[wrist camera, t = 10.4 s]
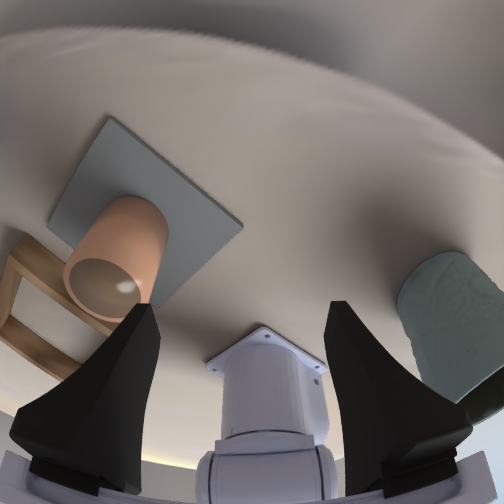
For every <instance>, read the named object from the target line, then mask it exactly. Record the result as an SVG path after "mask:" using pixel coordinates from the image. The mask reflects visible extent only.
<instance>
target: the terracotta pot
mask: <svg viewBox="0 0 504 504" xmlns="http://www.w3.org/2000/svg"><path fill="white" fill-rule="evenodd" d="M168 238H169V229H168V224H167V222H166V219H165V217H164V216H163V214H162V213H161V212H160V211H159V209H158V208H157V207H155V206H154V205H153V204H151V203H150V202H148V201H146V200H144V199H142V198H138V197H132V196H125V197H120V198H117V199H114V200H113V201H111V202H110V203H109V204H107V206H106V207H105V208H104V209H103V211H102V212H101V213H100V215H99V216H98V217H97V219H96V220H95V222H94V223H93V224H92V226H91V227H90V229H89V230H88V232H87V233H86V234H85V236H84V237H83V239H82V240H81V242H80V243H79V245H78V246H77V248H76V249H75V251H74V252H73V254H72V255H71V257H70V258H69V260H68V261H67V263H66V265H65V267H64V271H63V280H64V284H65V287H66V290H67V292H68V293H69V295H70V296H71V298H72V299H73V300H74V302H75V303H76V304H77V305H78V306H80V307H81V308H82V309H83V310H85V311H86V312H87V313H89V314H91V315H93V316H95V317H97V318H99V319H102V320H105V321H110V322H121V321H122V320H123V319H124V318H125V317H126V315H127V314H128V313H129V312H130V310H131V309H132V308H133V307H134V306H135V305H136V303H148V302H149V299H150V295H151V292H152V289H153V285H154V282H155V279H156V276H157V273H158V269H159V266H160V263H161V260H162V257H163V254H164V251H165V248H166V245H167V242H168Z"/></svg>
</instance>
